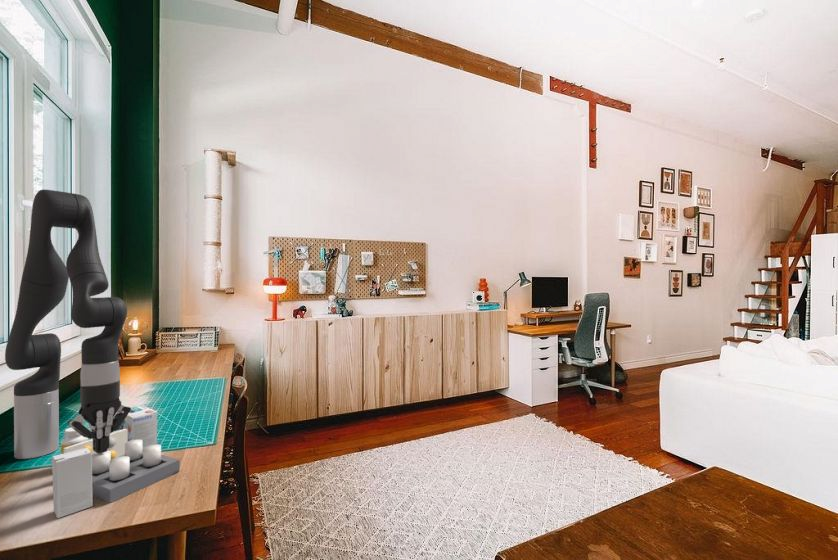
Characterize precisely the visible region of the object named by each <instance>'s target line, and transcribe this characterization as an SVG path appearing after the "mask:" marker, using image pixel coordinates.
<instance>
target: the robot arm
mask: <svg viewBox="0 0 838 560" xmlns="http://www.w3.org/2000/svg"><path fill="white" fill-rule="evenodd" d="M32 201H33V202H32V207H31V215H30V216H31V217H30V227H29V228H30V229H29V239H28V246H27V247H28V248H27V252H26V253H27V254H26V257H25V262H24V266H23V267H24V268H23V271H22V275H21V281H20V285H19V292H18V300H17V305H16V310H15V316H14V319H13V322H12V326H11V329H10V332H9V336H8V339H7V342H6V347H5V351H4V360H5V364H6V366H7V367H8V368H9V369H10V370H13V371H20V370H29V369H30V370H31V369H37V368H39V369H38V370H37V371H36V372H35V373H34V374H32V375H31V376H29V377H26V378H25V379H23V380H19V382H16V383H15V384H14V386H13V426H14V427H13V431H14V432H13V437H14V438H13V444H14V445H13V451H14V452H13V453H14V455H13V457H14V459H17V460H18V459H19V460H27V459H34V458H39V457H43V456H46V455H48V454H49V455H50V454H51V453H54V452H56V451H58V449H59V448H60V444H59V443H60V425H59V424H60V422H59V421H60V417H59V416H60V412H59V411H60V410H59V409H60V403H59V402H60V400H59V398H60V397H59V393H60V390H59V388H60V387H59V386H60V385H59V383H60V379H61V377H60V375H61V373H60V372H61V358H62V356H61V355H62V346H61V345H62V344H61V340H60V338H59V337H58V335H57V334H55V333H38V334H33V332H34V331H35V329H36V328H37V326H38V324H39V323H40V322H41V321H42V320H43V319H44V318H45V317H46V316H47V315H49V314H50V313H51V312H52V311H54V309H56V307H57V306H58V305H59V304H60V303H61V302H62V301H63V300H64V298H65V295H66V293H67V288H68V283H69V282H70V284H71V289H72V302H71V303H72V304H71V312H70V316H71V320H72V322H73V323H74V324H75V325H76V326H77V327H79V328H82V329H91V328H102V327H103V329H102V331H101V332H100V333H99V334H98V335H94V336H91V337H88V338H86V339H84V340H83V341H82V342H81V364H80V365H81V368H80V373H79V374H80V375H79V377H80V378H79V379H80V384H79V386H80V394H79V395H80V398H79V399H80V408H79V410H78V415H77V416H75V417H74V418H73V419H69V420H68V422H67V425H68V426H69V428H73V429H74V430H75V431H77V432H78V433H79V434H80V435H82V436H83V437H86V438H88V440H91V439H93V451H95V452H96V453H98V454H101V453H104V452H106V451H107V449H108V448H109V435H110V434H111V433H113V432H116V431H117V430H118V428H119V427H120V425H121V424H122V422H123V421H124V419H125V418H126V416H127V415H128V413H129V412H130V410H131V408H132V407H130V406H125V405H123V404H122V401H121V400H120V396H121V373H120V372H121V370H120V363H119V344H120V343H119V342H120V338H121V335H122V331H123V328H124V325H125V322H126V320H127V315H128V307H127V304H126V303H125V300H123V299H122V298H120V297H117V296H110V297H109V296H108V297H105V296H104V297H94V296H97V295H100V294H103V293H105V292H106V291H107V290H108V288H109V280H108V278H107V274H106V272H105V269H104V266H103V263H102V260H101V256H100V253H99V247H98V238H97V237H98V236H97V230H96V223H95V222H96V221H95V217H94V212H93V208H92V204H91V202H90V199H88V198H87V197H86V196H85V195H83V194H78V193H72V192H67V191H59V190H54V189H53V190H52V189H40V190H38V191H37V192H36V193H35V195H34V199H33V200H32ZM52 228H65V229H74V230H76V231H77V234H78V236H77V237H78V238H77V240H76V242H75V244H74V246H73V247H72V249H71V250H70V252H69V254H68V255H67V258H66V261H65V262H66V263H64V261H63V259H62V258H61V257H60V256H59V254H58V252H57V250H56V249H55V247H54V245H53V243H52V242H53V241H52V236H51V235H52ZM85 422H87V423H88V427H87V426H84V424H85ZM88 428H90V429H88Z"/></svg>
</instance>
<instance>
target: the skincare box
mask: <svg viewBox="0 0 838 560" xmlns="http://www.w3.org/2000/svg"><path fill="white" fill-rule="evenodd" d="M51 467H52V469H51V471H52V496H53V497H52V498H53V500H52V501H53V513H54V515H55V516H56V518H57V519H60V518H63V517H66V516H69V515H72V514H74V513H78V512H81V511H83V510H85V509H88V508H91V507H93V505H94V504H93V503H94V502H93V499H94V498H93V496H92V462H91V452H90V451H89V450H88V448H83V449H79V450H75V451H72V452H68V453H64V454H61V453H60V454H57V455H53V456H52V457H51Z"/></svg>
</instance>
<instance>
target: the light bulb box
mask: <svg viewBox="0 0 838 560" xmlns="http://www.w3.org/2000/svg"><path fill="white" fill-rule="evenodd" d="M130 408H131V410H130V412H129V413H128V415H127V416H126V418H125V419H124V421H123V422H122V424H121V425H120V427H119V428H118V430H117V431H119V430H123V429H127V433H128V441H132V440H142V445H143V448H145V447H147V446H150V445H158V411H157V410H154V409H152V408H149V407H147V406H144V405H142V404H141V405H137V406H133V407H130Z"/></svg>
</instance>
